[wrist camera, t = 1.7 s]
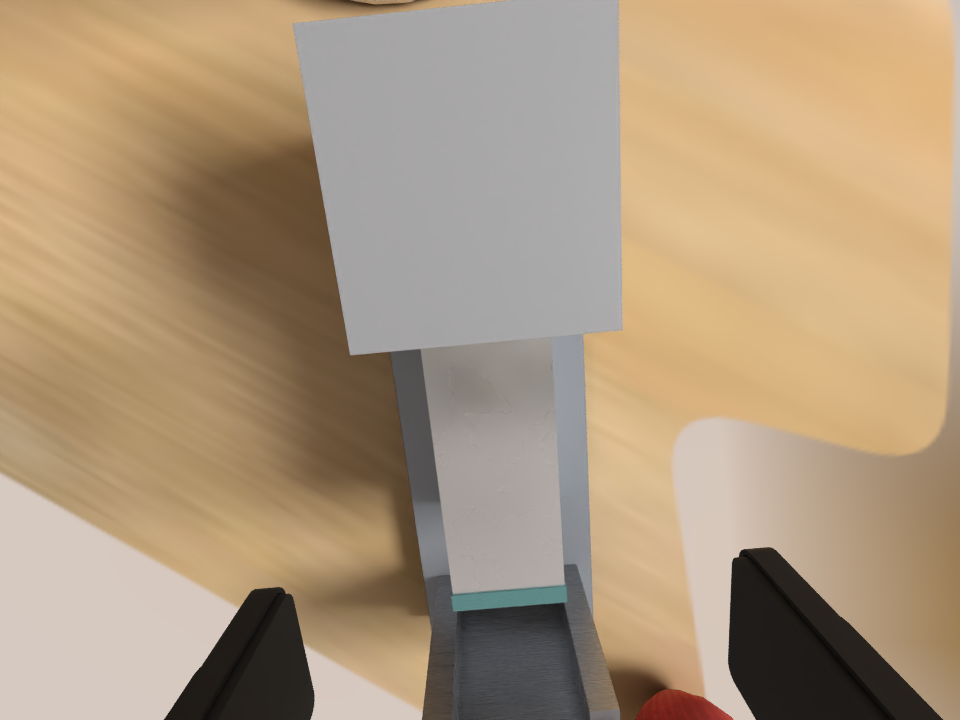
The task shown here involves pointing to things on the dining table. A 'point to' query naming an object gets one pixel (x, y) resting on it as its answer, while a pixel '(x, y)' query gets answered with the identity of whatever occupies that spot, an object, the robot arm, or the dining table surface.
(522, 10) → the board
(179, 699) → the robot arm
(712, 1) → the dining table surface
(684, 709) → the onion
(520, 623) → the socket
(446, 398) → the grey rectangular block
